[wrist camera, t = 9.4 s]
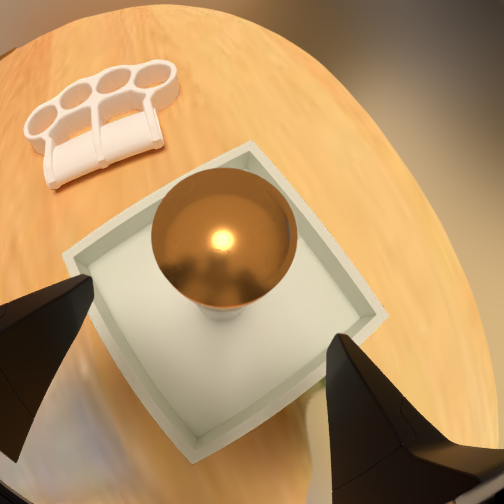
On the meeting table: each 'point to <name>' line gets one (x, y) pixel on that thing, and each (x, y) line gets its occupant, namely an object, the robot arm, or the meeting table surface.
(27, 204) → the meeting table surface
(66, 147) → the white brass knuckles
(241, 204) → the grey cylinder
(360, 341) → the tray
